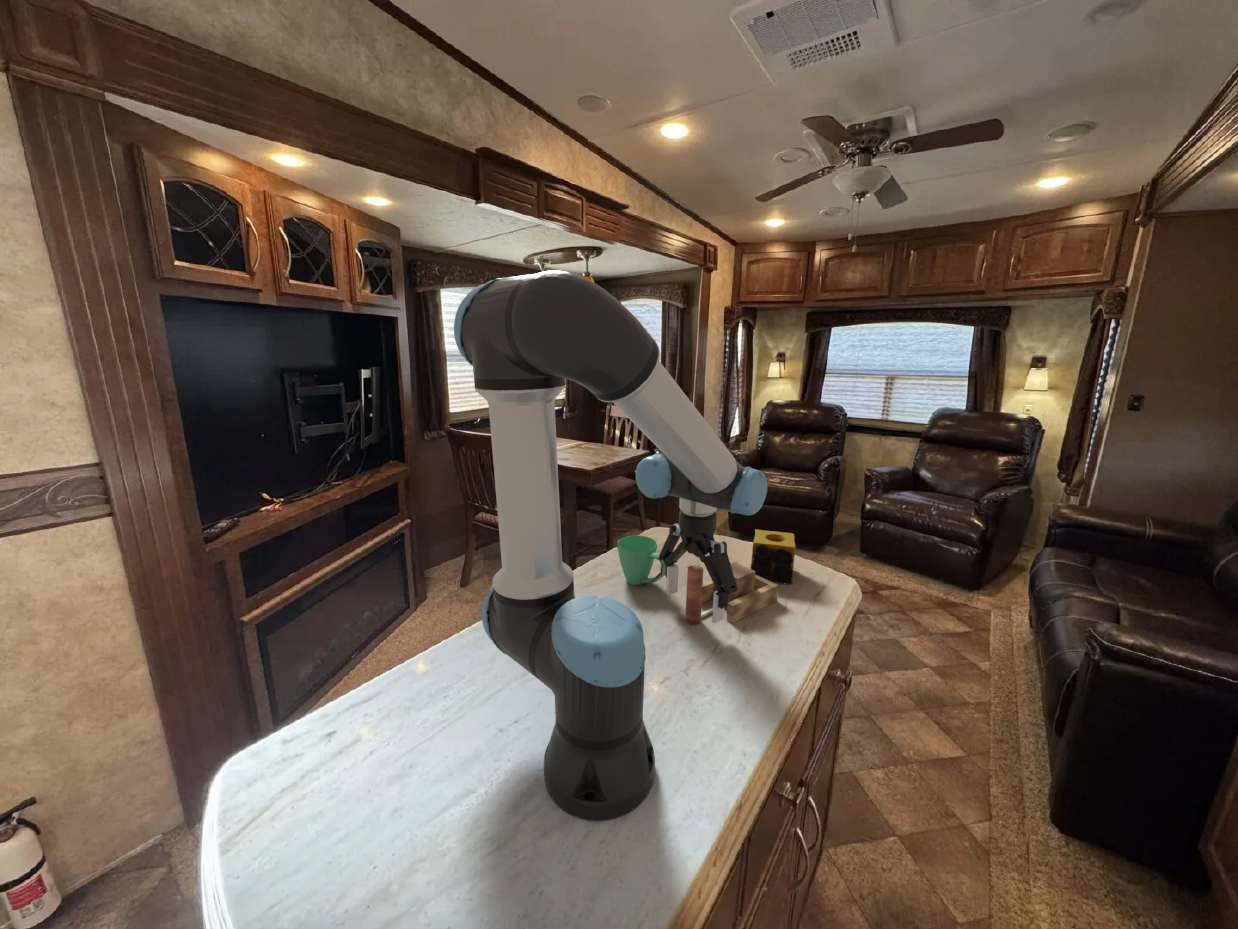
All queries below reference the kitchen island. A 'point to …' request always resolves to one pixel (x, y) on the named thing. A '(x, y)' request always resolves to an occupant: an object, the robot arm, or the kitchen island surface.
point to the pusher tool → (694, 590)
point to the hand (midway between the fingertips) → (693, 606)
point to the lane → (745, 598)
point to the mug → (639, 559)
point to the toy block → (773, 556)
